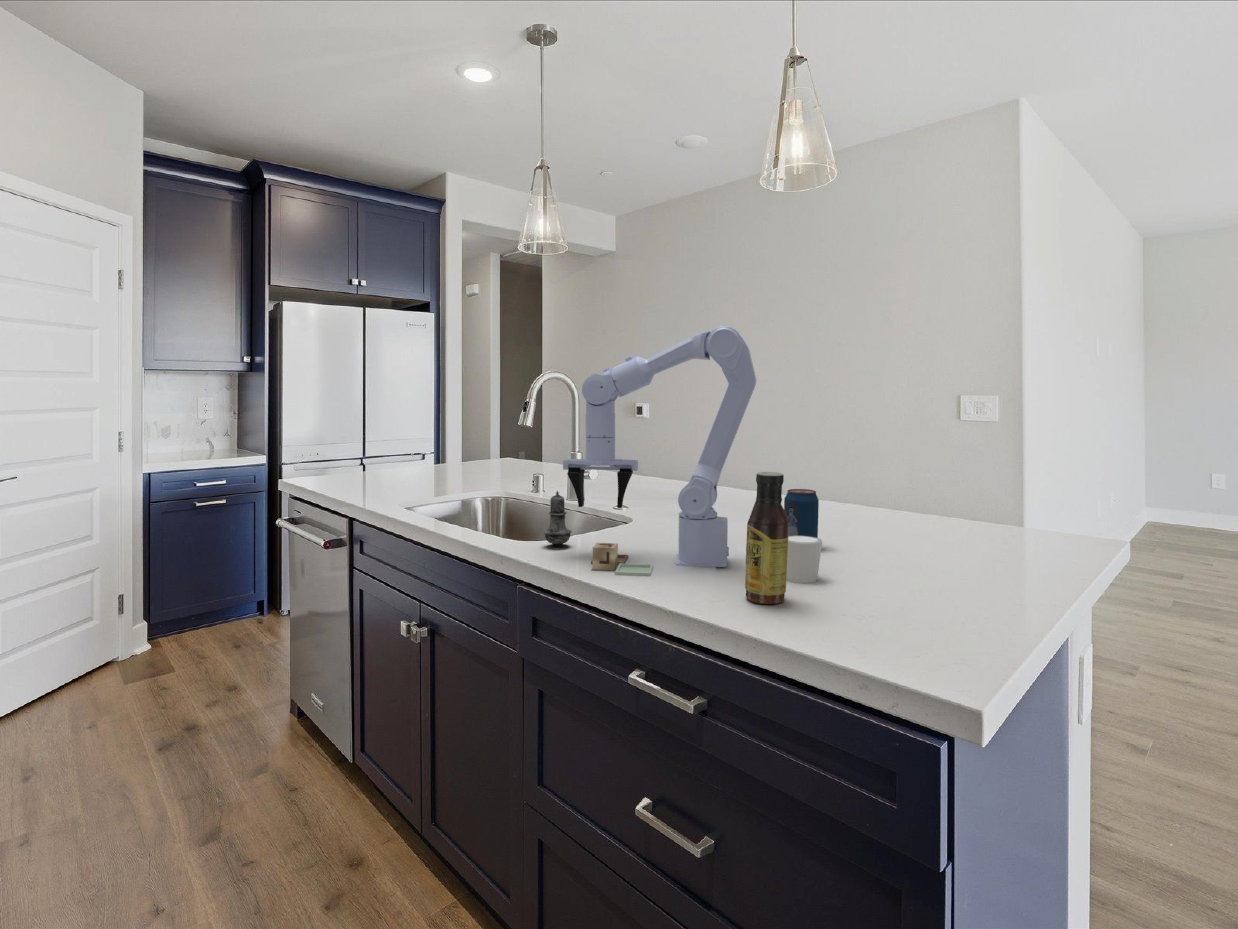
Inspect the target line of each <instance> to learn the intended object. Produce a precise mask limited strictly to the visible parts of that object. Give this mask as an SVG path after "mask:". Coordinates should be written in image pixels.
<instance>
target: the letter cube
mask: <svg viewBox="0 0 1238 929" xmlns="http://www.w3.org/2000/svg"><path fill="white" fill-rule="evenodd" d="M618 554H619V543H617V542H615V543H613V542H612V543H609V542H595V544H594V545H593V546H592V559H593V564H592V568H593V569H598V570H615V569H616V567H617V565H618Z"/></svg>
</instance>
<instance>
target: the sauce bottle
mask: <svg viewBox="0 0 1238 929" xmlns="http://www.w3.org/2000/svg"><path fill="white" fill-rule="evenodd" d="M784 481H785V480H784V474H783V473H782V472H777V471H776V472H775V471H760V472H757V473H756V478H755V482H756V484H757V485H756V498H755V501H754V504H753V507H752V510H751V512H750V515H749V519H748V520H747V524H746V544H745V545H746V547H745V553H746V554H745V574H744V576H745V577H744V580H745V583H744V587H745V597H746V599H747V600H748V601H751V602H754V603H755V604H760V605H761V604H762V605H763V604H764V605H773V604H776V605H778V604H781V603H783V602H784V600H785V596H786V595H785V593H786V592H787V591H786V590H787V580H786V576H787V554H788V517H787V514H786V512H785V510H784V506H783V505H782V501H783V498H782V495H783V493H782V492H783V484H784V483H785V482H784Z"/></svg>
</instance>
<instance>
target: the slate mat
mask: <svg viewBox="0 0 1238 929" xmlns="http://www.w3.org/2000/svg"><path fill="white" fill-rule="evenodd" d="M617 567H618V565H617ZM617 567H616V569H617ZM616 569H615V570H598V569H593V567H592V568H591V571H593V572H615V571H616Z"/></svg>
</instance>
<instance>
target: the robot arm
mask: <svg viewBox="0 0 1238 929" xmlns="http://www.w3.org/2000/svg"><path fill="white" fill-rule="evenodd" d="M710 357H711V358H712V360H713V361H714V362H715V363H716V364H717V365H718V366H720V368H721V370H722V372H723V374H724V376H725V378H726V380H727V383H728V384H727V385H728V386H727V388H726V391H725V393H724V395H723V399H722V401H721V404H720V406H719V409H718V411H717V414H716V416H715V419H714V421H713V424H712V427H711V429H710V431H709V434H708V437H707V440H706V442H705V444H704V448H703V450H702V452H701V454H700V457H699V460H698V462H697V465H696V467H695V469H694V471H693V473H692V475H691V477H690V480H689V482H688V483H687V484H686V485H685V486H684V487H682V489H681V490H680V492H679V494H678V498H677V503H678V506H679V509H680V510H681V511H680V512H678V551H677V552H678V553H677V554H676V559H675V563H674V564H675V566H683V567H684V566H685V567H710V568H711V567H713V568H714V567H715V568H727V567H728V557H729V555H730V546H728V534H729V533H728V523H729V522H728V517H726V516H718V511H716V510H715V508H714V507H713V506H714V505H715V504H716V501H717V499H718V490H717V487H718V483H719V481H720V477H721V473H722V472H723V471H722V470H723V468H724V465H725V464H726V460H727V458H728V456H729V453H730V451H731V448H732V446H733V444H734V441H735V438H736V436H737V433H738V430H739V428H740V426H741V423H742V420H743V418H744V416H745V413H746V411H747V408H748V405H749V403H750V400H751V397H752V395H753V393H754V390H755V387H756V385H757V377H756V374H755V373H756V372H755V368H754V365H753V360H752V356H751V350H750V348H749V346H748V344H747V343H746V340H744V338H743V337H742V336H741V334H740V333H739V331H738V330H736V328H733V327H732V326H728V325H722V326H718V327H715V328H714V329H712V330H711V331H710V330H708V331H704V332H700V333H698V334H695V335H693V336H691V337H689V338H687V339H685V340H683V341H681V342H678V343H677V344H675V345H673V346H671V347H669V348H666V349H665V350H663V351H661V352H659V353H657V354H655V355H653V356H651V357H649V358H648V359H646V358H644V357H641V356H638V355H637V356H635V357H634V356H632V355H630V356H627V357H625V359H624V360H625V361H624V362H623V363H620V364H618V365H616V366H614V367H612V368H610V367H606V368H604V369H603V370H602V371H603V374H602V373H592V374H591V375H590V376H588V377H587V378H585V379H584V381H583V384H582V386H581V393H582V397H583V398H584V399H585V400H586V401H585V458H564V459H562V470H563V471H565V470H566V471H568V472H567V474H566V475H567V476H568V478H569V480H570V482H571V485H572V487H573V490H574V492H575V495H576V501H577V505H578V506H577V507H578V508H583V507H584V506H585V495H584V493H585V491H584V482H585V470H588V471H589V470H595V471H598V470H599V471H602V470H603V471H608V470H609V471H617V473H616V474H617V476H616V477H617V500H616V502H617V505H616V506H617V509H622V508H623V506H624V505H623V503H624V502H623V501H624V498H625V494H626V490H627V487H628V485H629V482H630V480H631V478H632V476H633V474H634V472H636V471H639V460H638V459H621V458H619V459H618V458H616V412H615V410H616V409H615V408H616V407H615V404H616V403H615V402H616V400H617V399H618V397H619V398H622V397H624V396H626V395H629V394H631V393H633V392H635V391H637V390H640V389H642V388H644V387H646V386H649V385H650V384H651V382H652V380H653V378H654V376H655V375H657V374H659V373H661V372H664V371H666V370H668V369H672V368H674V367H676V366H678V365H681V364H683V363H686V362H688V361H691V360H707V361H711V358H710Z"/></svg>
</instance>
